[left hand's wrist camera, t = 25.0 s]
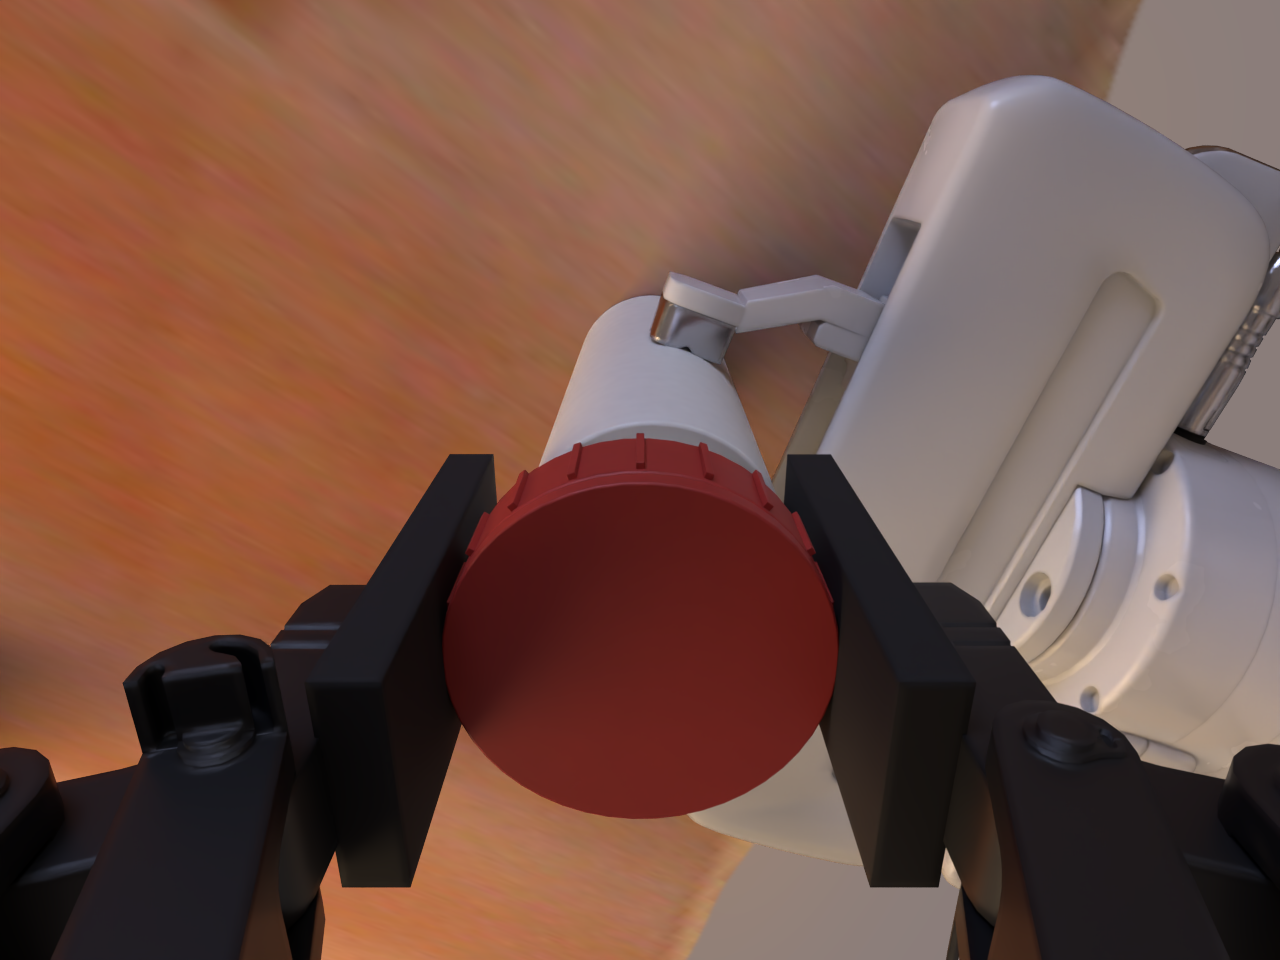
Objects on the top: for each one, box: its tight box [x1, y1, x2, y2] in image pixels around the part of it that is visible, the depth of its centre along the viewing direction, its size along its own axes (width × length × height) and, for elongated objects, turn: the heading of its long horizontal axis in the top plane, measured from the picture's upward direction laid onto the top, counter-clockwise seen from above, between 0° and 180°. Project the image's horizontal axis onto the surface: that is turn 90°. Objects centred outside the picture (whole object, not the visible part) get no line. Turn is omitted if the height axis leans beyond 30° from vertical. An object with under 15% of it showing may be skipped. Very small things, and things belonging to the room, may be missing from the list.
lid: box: [442, 433, 839, 819], centre depth 11 cm, size 5×5×2 cm
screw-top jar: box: [539, 295, 777, 495], centre depth 20 cm, size 5×5×15 cm
